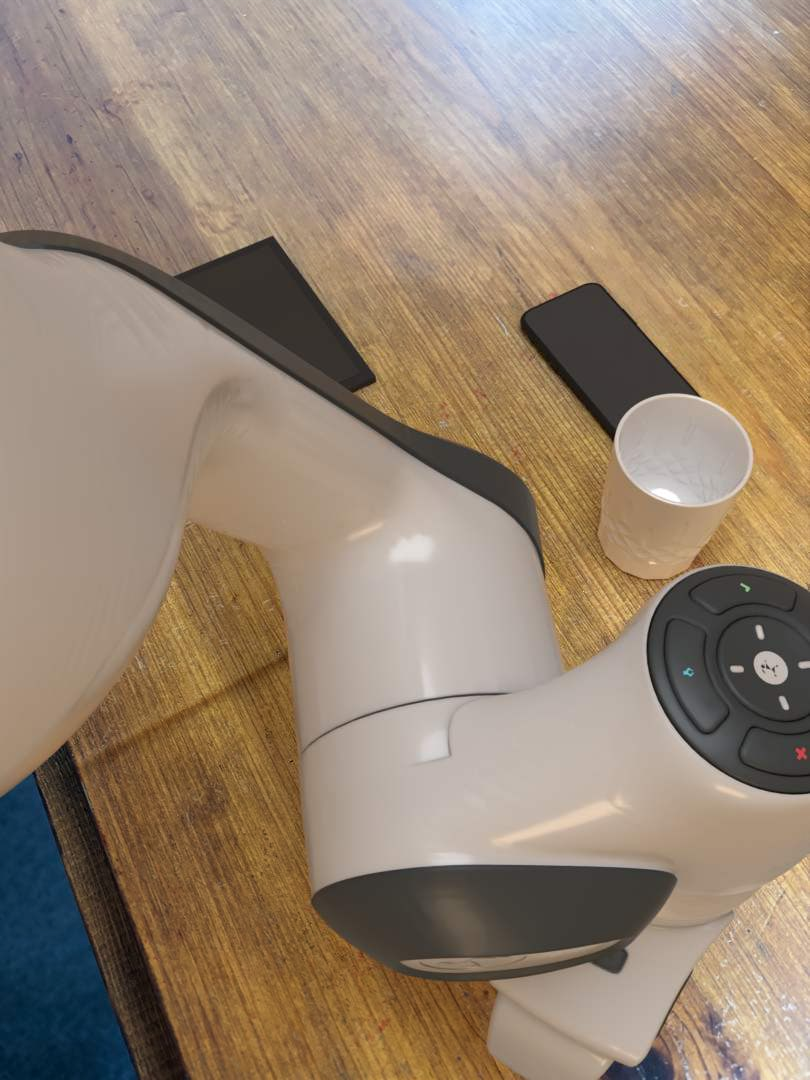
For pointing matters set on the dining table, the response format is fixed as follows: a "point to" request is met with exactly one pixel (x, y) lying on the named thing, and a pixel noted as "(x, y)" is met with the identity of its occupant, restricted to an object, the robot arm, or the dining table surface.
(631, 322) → the smartphone
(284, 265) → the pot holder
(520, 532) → the robot arm
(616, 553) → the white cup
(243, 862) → the dining table surface
